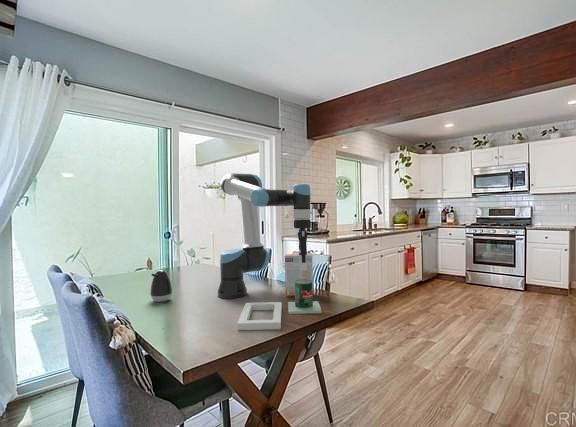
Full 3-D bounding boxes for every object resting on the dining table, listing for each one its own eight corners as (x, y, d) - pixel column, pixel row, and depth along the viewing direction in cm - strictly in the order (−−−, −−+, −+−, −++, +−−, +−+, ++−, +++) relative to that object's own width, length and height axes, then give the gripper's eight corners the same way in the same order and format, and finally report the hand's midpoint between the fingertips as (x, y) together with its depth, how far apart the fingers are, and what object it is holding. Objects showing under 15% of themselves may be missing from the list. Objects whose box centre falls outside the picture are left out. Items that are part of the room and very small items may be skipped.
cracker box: (313, 293, 167) (312, 253, 167) (313, 296, 161) (312, 255, 161) (286, 293, 168) (285, 253, 168) (285, 296, 162) (284, 255, 162)
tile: (288, 313, 136) (288, 311, 136) (288, 304, 150) (288, 301, 150) (321, 313, 136) (321, 310, 136) (318, 303, 150) (318, 301, 150)
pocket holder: (237, 330, 118) (237, 323, 118) (245, 308, 144) (245, 302, 144) (280, 329, 119) (280, 322, 118) (281, 307, 145) (281, 302, 144)
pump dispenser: (145, 302, 158) (144, 271, 158) (162, 297, 167) (161, 267, 167) (160, 304, 153) (159, 273, 153) (176, 299, 162) (176, 269, 162)
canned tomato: (307, 309, 137) (306, 284, 137) (291, 307, 142) (291, 282, 141) (315, 304, 144) (315, 280, 144) (300, 302, 148) (300, 278, 148)
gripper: (313, 220, 130) (313, 272, 130) (308, 218, 155) (309, 262, 155) (294, 220, 130) (295, 273, 130) (293, 218, 155) (293, 262, 155)
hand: (302, 267), depth 143 cm, fingers open, 13 cm apart
